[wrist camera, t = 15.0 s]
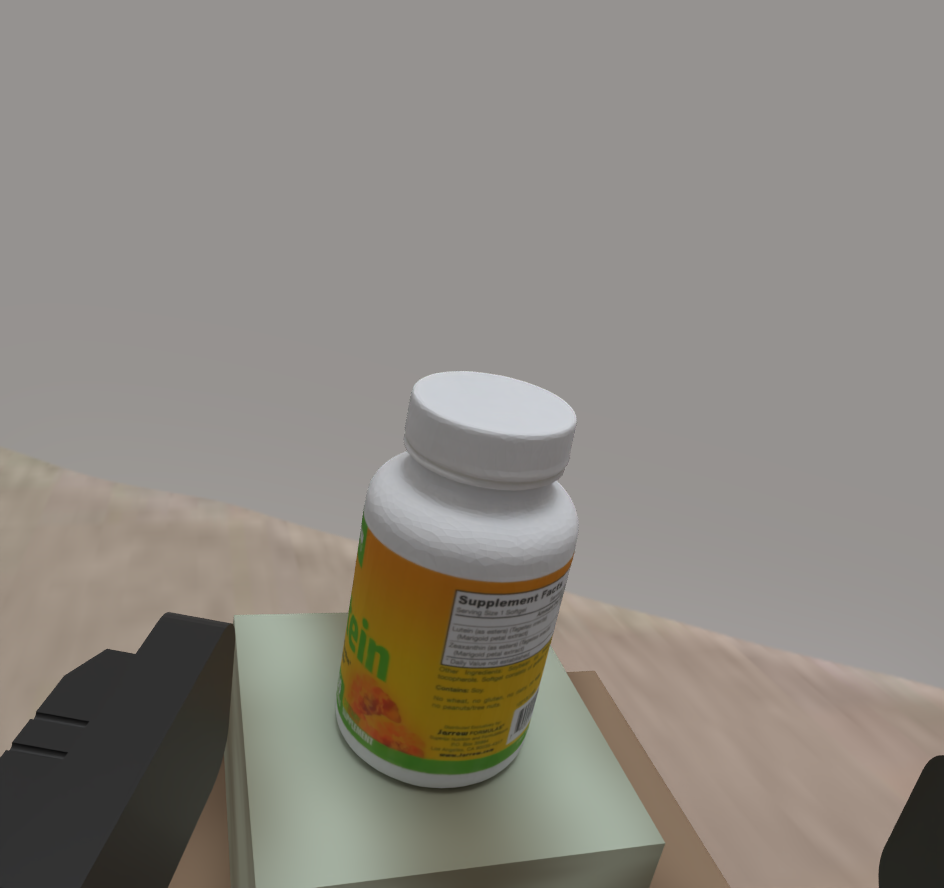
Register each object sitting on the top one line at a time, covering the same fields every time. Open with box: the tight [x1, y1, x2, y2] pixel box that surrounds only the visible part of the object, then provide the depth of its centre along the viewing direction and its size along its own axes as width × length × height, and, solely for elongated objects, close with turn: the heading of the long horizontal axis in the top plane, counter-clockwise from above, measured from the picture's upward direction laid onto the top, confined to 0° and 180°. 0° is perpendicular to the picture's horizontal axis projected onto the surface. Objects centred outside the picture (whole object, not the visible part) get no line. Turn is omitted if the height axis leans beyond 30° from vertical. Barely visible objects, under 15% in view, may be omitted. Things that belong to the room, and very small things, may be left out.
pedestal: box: [168, 613, 730, 888], centre depth 25 cm, size 20×15×6 cm
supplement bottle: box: [335, 371, 579, 788], centre depth 22 cm, size 5×5×10 cm
